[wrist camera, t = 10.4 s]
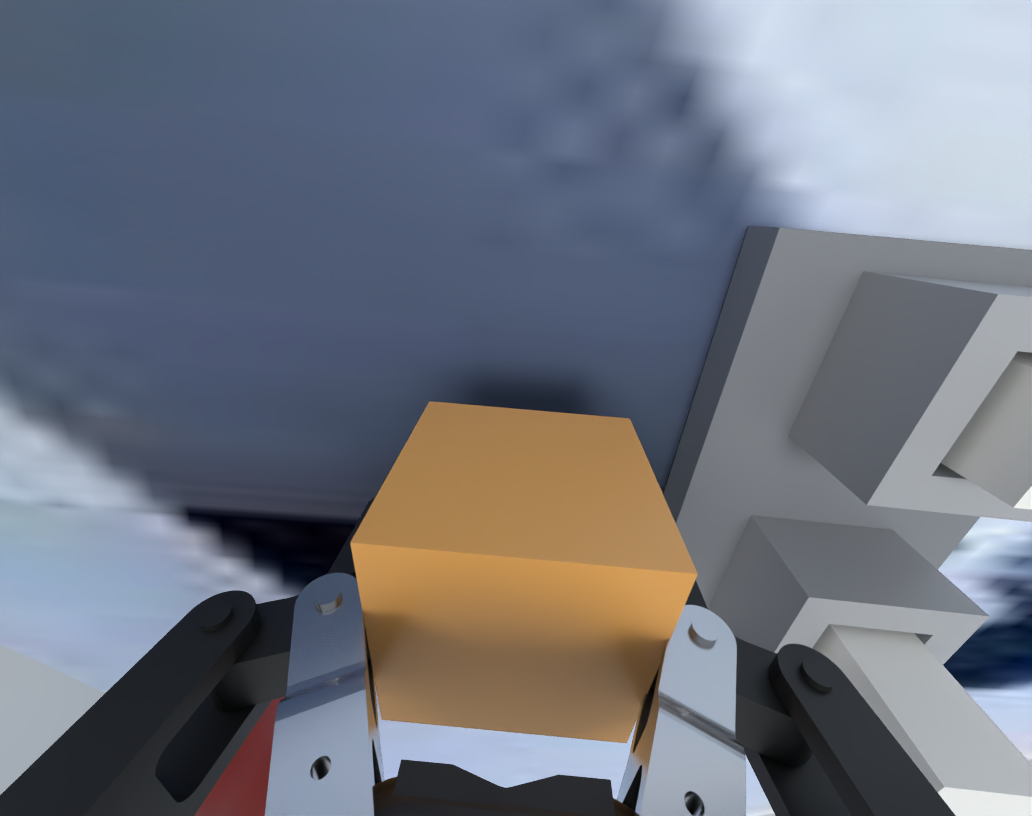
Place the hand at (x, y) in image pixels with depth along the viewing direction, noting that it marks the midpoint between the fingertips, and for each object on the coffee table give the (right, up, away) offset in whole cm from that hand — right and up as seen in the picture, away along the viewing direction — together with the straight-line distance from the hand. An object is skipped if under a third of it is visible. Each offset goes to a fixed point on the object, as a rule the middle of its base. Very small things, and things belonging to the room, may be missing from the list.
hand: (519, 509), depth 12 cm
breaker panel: (+13, +1, +5) cm, 14 cm away
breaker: (+13, -6, +3) cm, 14 cm away
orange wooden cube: (0, 0, +1) cm, 1 cm away
